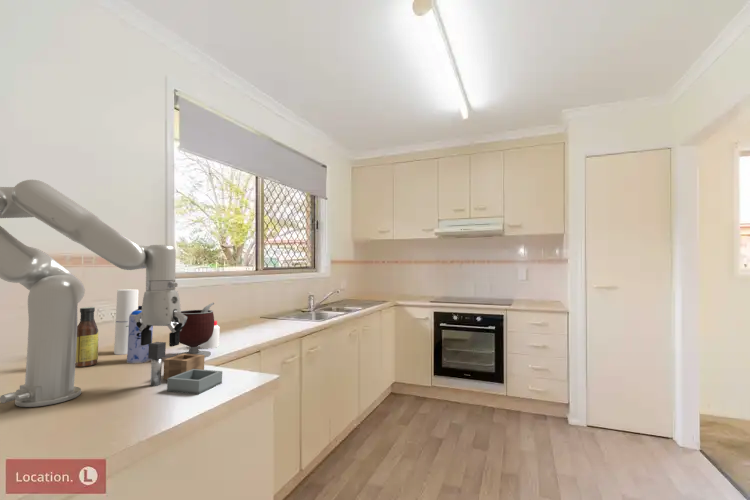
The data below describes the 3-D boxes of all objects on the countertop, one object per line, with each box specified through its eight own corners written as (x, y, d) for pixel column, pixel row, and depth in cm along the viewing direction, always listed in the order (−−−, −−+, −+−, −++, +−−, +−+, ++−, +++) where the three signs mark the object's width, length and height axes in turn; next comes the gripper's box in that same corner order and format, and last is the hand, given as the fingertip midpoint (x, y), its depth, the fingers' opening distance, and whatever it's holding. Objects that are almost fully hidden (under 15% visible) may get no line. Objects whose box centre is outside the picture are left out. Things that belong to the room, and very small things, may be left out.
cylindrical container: (116, 351, 146) (119, 289, 147) (137, 349, 149) (140, 289, 150) (112, 355, 139) (115, 290, 141) (133, 353, 142) (137, 290, 144)
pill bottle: (222, 346, 158) (223, 321, 158) (206, 349, 151) (207, 323, 152) (212, 344, 162) (213, 319, 162) (195, 347, 155) (196, 321, 156)
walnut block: (185, 381, 108) (186, 360, 109) (163, 379, 110) (164, 359, 110) (203, 373, 116) (204, 355, 116) (182, 372, 118) (183, 353, 118)
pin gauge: (155, 386, 103) (157, 344, 103) (146, 386, 103) (148, 343, 104) (164, 383, 106) (165, 342, 106) (155, 382, 106) (157, 341, 107)
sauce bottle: (102, 363, 128) (105, 306, 129) (86, 367, 121) (89, 308, 122) (85, 362, 128) (88, 306, 129) (68, 367, 122) (72, 308, 123)
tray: (198, 394, 97) (199, 381, 97) (166, 391, 99) (167, 378, 99) (221, 383, 107) (222, 371, 107) (192, 380, 109) (193, 368, 109)
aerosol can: (130, 364, 126) (133, 307, 128) (123, 360, 131) (125, 305, 133) (155, 360, 133) (157, 305, 134) (147, 356, 137) (149, 304, 139)
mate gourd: (189, 361, 131) (192, 306, 132) (164, 357, 137) (167, 304, 138) (224, 353, 145) (225, 303, 146) (200, 349, 151) (202, 301, 152)
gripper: (195, 285, 108) (194, 343, 107) (146, 285, 112) (146, 341, 111) (176, 287, 101) (175, 349, 100) (125, 287, 104) (124, 347, 104)
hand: (160, 345), depth 106 cm, fingers open, 9 cm apart
